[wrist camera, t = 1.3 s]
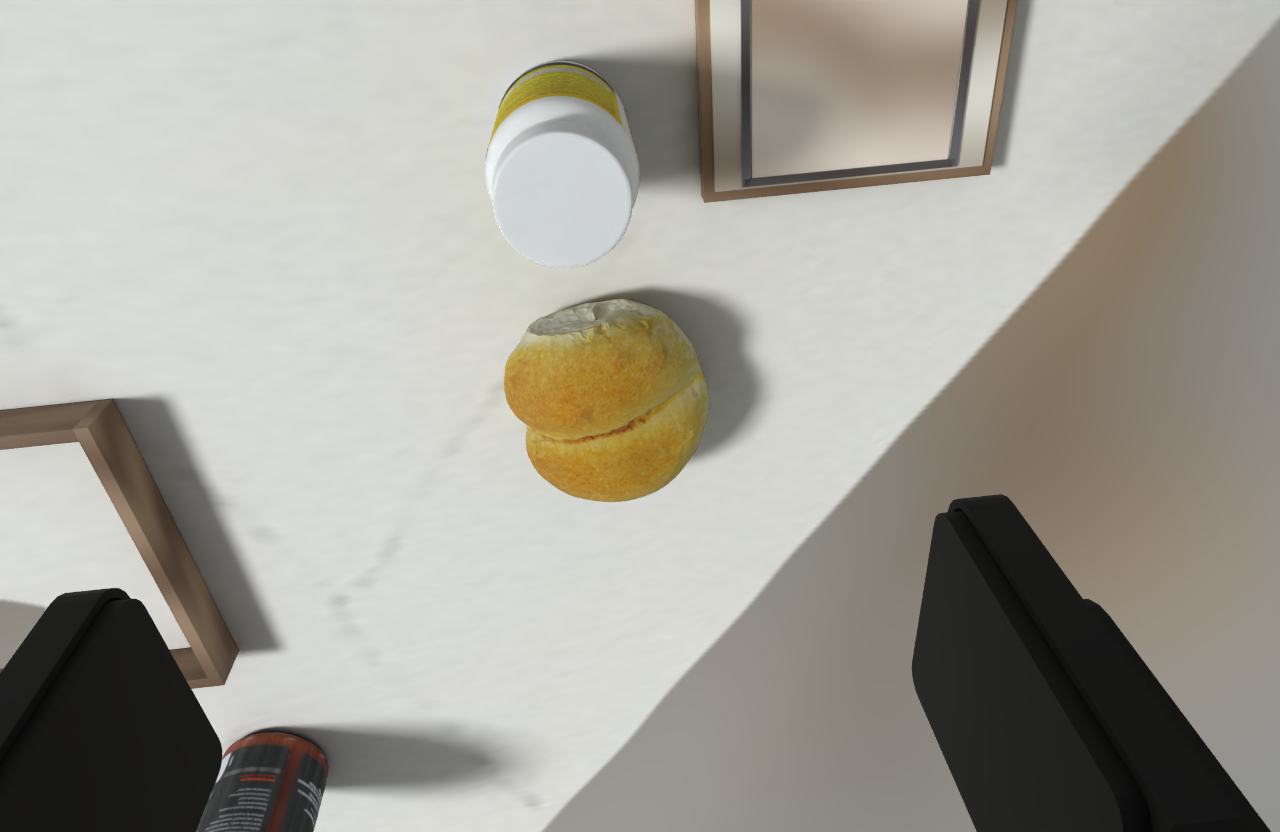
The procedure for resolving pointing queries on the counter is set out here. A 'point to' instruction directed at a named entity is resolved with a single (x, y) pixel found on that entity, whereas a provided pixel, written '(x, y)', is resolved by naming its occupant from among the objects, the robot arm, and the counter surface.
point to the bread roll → (608, 399)
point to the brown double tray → (846, 92)
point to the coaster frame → (137, 523)
